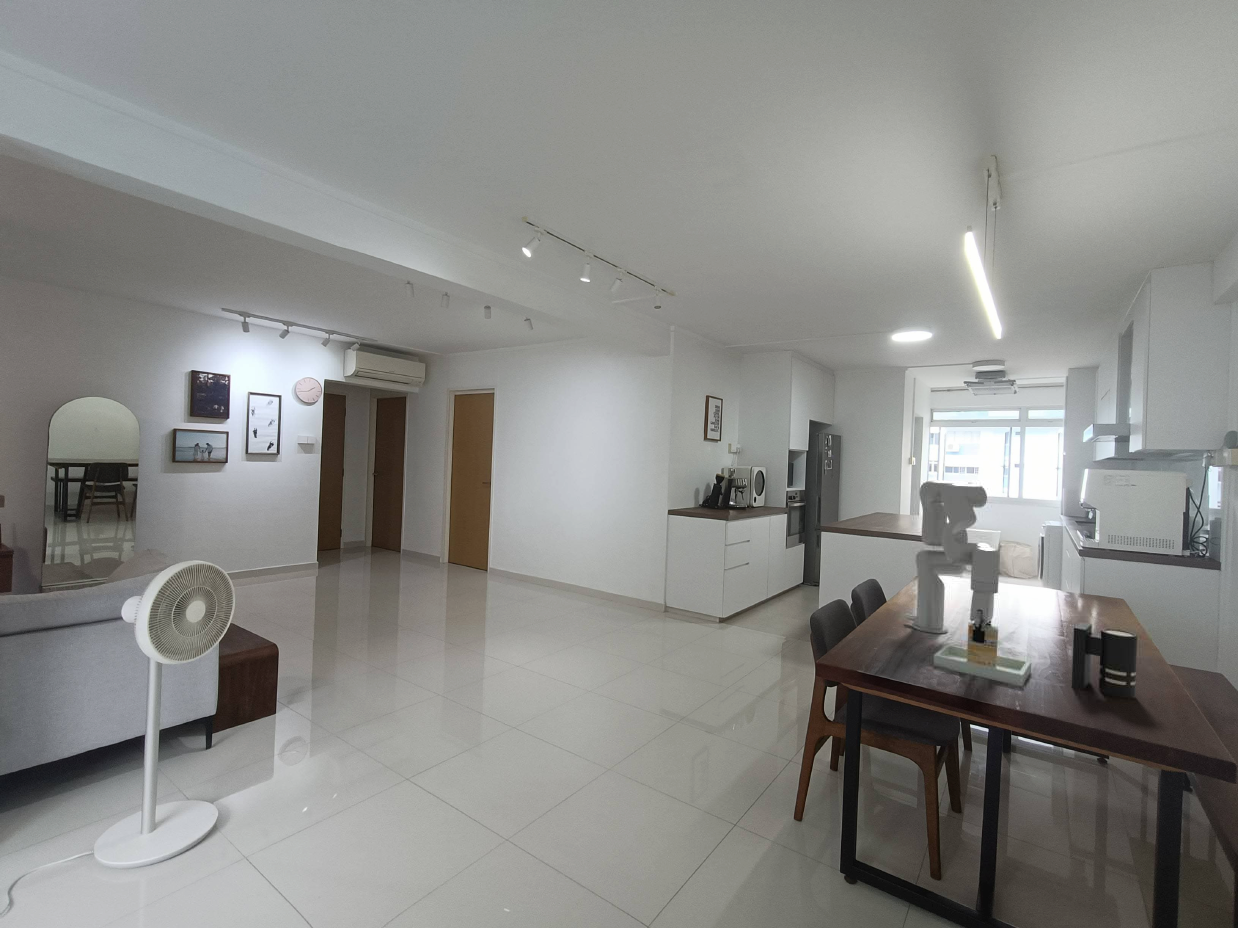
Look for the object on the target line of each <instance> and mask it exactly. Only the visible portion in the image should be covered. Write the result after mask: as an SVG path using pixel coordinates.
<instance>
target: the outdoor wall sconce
mask: <svg viewBox="0 0 1238 928" xmlns="http://www.w3.org/2000/svg"><path fill="white" fill-rule="evenodd" d="M1092 629H1093V625H1092V624H1091V623H1086V622H1082V621H1081V622H1079V623H1077V624H1076V625H1075V626H1074V627H1073V642H1072V644H1073V645H1072V646H1073V647H1072V666H1071V667H1072V670H1071V671H1072V672H1071V673H1072V674H1071V688H1074V689H1077V690H1083V691H1084V690H1085V688H1087V686H1088V685H1089V684H1090V682H1091V681H1090V680H1091V659H1092V656H1096V657H1099V671H1098V672H1099V676H1098V677H1099V679H1098V691H1099V692H1101V693H1103V694H1105V695H1107V696H1111V697H1114V698H1120V699H1126V700H1133V699H1135V698H1136V680H1137V679H1136V676H1137V674H1136V673H1137V652H1138V651H1137V650H1138V635H1137V634H1136V633H1134V632H1130V631H1126V630H1123V629H1122V630H1121V629H1115V628H1102V629H1100V634H1097V633H1093V631H1092Z"/></svg>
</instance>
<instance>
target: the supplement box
mask: <svg viewBox="0 0 1238 928" xmlns="http://www.w3.org/2000/svg"><path fill="white" fill-rule="evenodd" d="M973 626H974V622H972V621H971V622H970V621H968V625H967V647H966V648H967V661H968V662H972V663H977V664H981V665H986V666H990V667H995V668H996V663H997V655H998V637H999V627H998V626H994V625H991V626H989V625H985V627H984V631H985V641H984V644H982V643H977V642H973V641H972V639H973ZM981 626H982V624H981Z"/></svg>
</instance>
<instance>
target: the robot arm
mask: <svg viewBox="0 0 1238 928" xmlns="http://www.w3.org/2000/svg"><path fill="white" fill-rule="evenodd" d="M987 494H988V493H987V491H986V490H985V488H984V487H983V486H982V485H981V484H978V483H974V482H973V483H972V482H969V481H952V480H951V481H950V480H949V481H948V480H928V481H925V482H923V483H922V484H921V486H920V489H919V500H920V503H921V507H922V521H921V523H922V524H921V541H922V543H923V544H924V545H926V546H928V547H930V546H931V547H936V548H935V549H933V548H927V549H926V548H925V549H921V550H919V551H917V553H916V554H915V565H916V572H917V573H916V574H917V588H916V591H917V592H916V593H917V594H916V596H917V597H916V614H914V615H913V614H912V615H911V614H908V613H905V615H904V617H905V619H906V620H907V621H913V622H912V623H911V627H912V628H913V629H916V630H917V631H920V632H921V631H922V632H924V633H929V634H930V633H932V634H945V633H948V632H949V628H948V626H946V625H944V624H945V623H944V619H945V617H944V616H945V589H946V587H945V583H944V582H943V580H942V579H941V578H940V576H939V575H955V576H956V575H957V576H959V575H961V574H964V572H965V570H966V567H967V566H970V567H971V569H970V571H971V573H970V591H972V596H971V603H970V604H971V605H970V613H969V620H970V621H971V622H973V623H974V626H973V639H972V641H973V642H977V643H982V644H984V641H985V631H984V627H985V625H989V626H992V620H993V616H994V610H995V608H994V607H995V594H998V593H999V582H1000V581H999V579H1000V578H999V577H1000V576H999V575H1000V551H999V550H998V549H996V548H993V547H992V546H991V545H989V544H987V543H978V542H977V543H974V542H968V539H969V538H968V532H967V530H968V529H969V528H971V527H973V526H974V525H975V524H976V522H977V515H976V512H975V510H974V509H975V508H976V509H977V508H984V506H985V505H986V504H987V501H988V495H987ZM937 547H938V548H940V547H941V548H942V549H941V548H940V549H938V548H937ZM981 624H982V626H981Z"/></svg>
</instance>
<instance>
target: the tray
mask: <svg viewBox="0 0 1238 928" xmlns="http://www.w3.org/2000/svg"><path fill="white" fill-rule="evenodd" d="M933 666H934V667H938V668H941V669H942V668H943V669H946V670H950V671H954V672H958V673H963V674H968V675H971V676H975V677H978V678H984V679H988V680H992V681H997V682H1002V683H1005V684H1009V685H1014V686H1016V687H1018V686H1019V687H1023V686H1024V685H1025V683H1027V682H1026V681H1027V680H1028V679H1029V677H1030V675H1031V673H1032V661H1029V660H1025V659H1019V658H1015V657H1011V656H1010V657H1009V656H1005V655H1000V654H997V663H996V668H995V667H990V666H986V665H981V664H977V663H972V662H968V661H967V647H962V646H957V645H954V644H953V645H952V644H948V643H947V644H946V645H944V646H943V647H942V648H940V649H939V650H938V651H937V652H936V653H935V654H933Z"/></svg>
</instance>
